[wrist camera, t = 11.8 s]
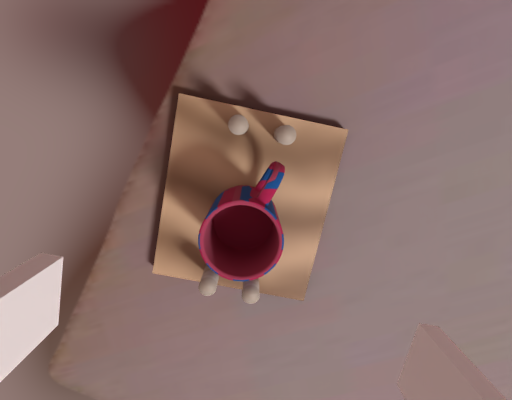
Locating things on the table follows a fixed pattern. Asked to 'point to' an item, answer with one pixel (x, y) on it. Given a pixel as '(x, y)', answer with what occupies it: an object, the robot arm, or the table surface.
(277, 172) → the cup
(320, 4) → the table surface
